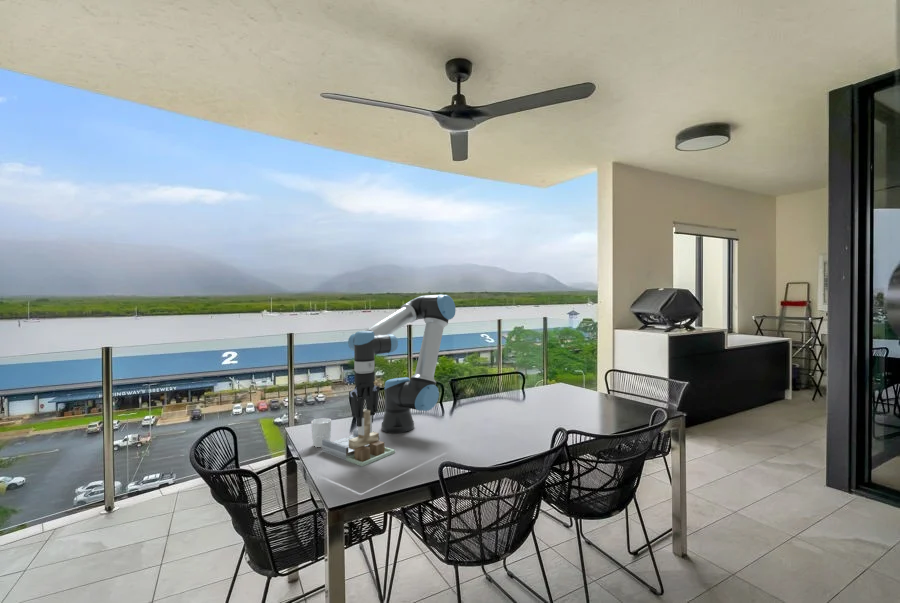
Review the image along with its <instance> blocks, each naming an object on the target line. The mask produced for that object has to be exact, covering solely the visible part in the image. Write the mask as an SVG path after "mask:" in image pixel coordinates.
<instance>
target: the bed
mask: <svg viewBox="0 0 900 603" xmlns="http://www.w3.org/2000/svg"><path fill="white" fill-rule="evenodd" d="M352 432H353V434H351V435H348V436H345V437H342V438H340V439H336V440H334V441H332V440H330V441H328V440H325V439H324V440H322V447H321V448H322V452H323V453H326V454H328V455H330V456H333V457H336V458H339V459H340V460H344V461H346V458H347V457H349V456H352V455H354V454H355V453H354V450H353V449H350V448H349V440H350V439H353V438H356V437H358V429H353V430H352ZM365 447H369V448H370V444H368V445H366V446H365Z"/></svg>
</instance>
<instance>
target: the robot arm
mask: <svg viewBox="0 0 900 603" xmlns="http://www.w3.org/2000/svg"><path fill="white" fill-rule="evenodd" d="M456 311H457V310H456V304H455V300H454V299H453V298H452V297H451V296H450V295H448V294H441V293H440V294H427V295H420V296H417V297H415V298H413V299H410V300H409V301H407V302H406V303H404V304H402V305H401V306H400V309H398V310H396V311H395V312H393V313H392V314H390V315H389V316H387V317H385V318H383V319H382V320H380V321H378V322H377V323H375V324H374V325H371V326H370V327H368V328H367V329H366V330H361V331H360V330H359V331H356V332H355V333H352V334H351V335H350V336H349V338H348V339H347V344H348V348H349V349H350V350H351V351H354V352H353V353H354V366H353V367H354V369H353V371H354V383H355V385H354V389H353V390H350V391H348V394H349V395H348V396H349V397H350V398H349V399H350V408H351V416H352V417H354V418H356V426H357V430H358V434H359V435H364V418H363V417H362V416H363V409H364V404H365V406H366V409H367V410H370V433H372V432H373V423H374V416H375V415H376V413H377V412H378V409H379V408H378V407H379V393H380V390H381V389H380V388H381V387H380V386H378V385H375V383H374V382H375V381H376V380H375V378H376V377H375V376H376V375H375V372H374V371H375V360H376V359H375V355H382V354H383V355H384V354H390V353H394V352H395V351H396V350H397V349H398V347H399V341H398V337H397V336H396V335H394V334H393V333H395V332H397V331H398V330H399V329H401V328H402V327H403V326H405V325H407V324H409V323H415V322H416V321H417V320H423V321H424V323H425V327H424V331H423V336H422V341H421V345H420V350H419V354H418V360H417V364H416V367H415V372H414V374H413V375H411V377H410V378H409V377H395V378H391V379H388V380H386V381H385V382H384V389H383V390H384V415H383V418H382V419H383V420H382V422H381V425H380V426H381V427H380V428H381V431H382V432H385V433H389V434H390V433H391V434H402V433H406V432H410V431H412V430H413V429H414V428H415V421H414V419H413V416H412V413H411V410H414V411H415V410H416V411H420V412H422V411H424V412H427V411H431V410H432V409H433V408H435V406H436V405H437V404H438V400H439V396H440V392H439V388H438V386H436V384H437V381H436V380H435V378H434V377H435V372H436V369H437V368H436V367H437V362H438V358H439V354H440V348H441V343H442V339H443V334H444V330H445V327H447V326H448V324H449V321H450V320H452V319H453V318H454V317H455V315H456ZM401 432H402V433H401Z"/></svg>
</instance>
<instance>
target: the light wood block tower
mask: <svg viewBox="0 0 900 603" xmlns="http://www.w3.org/2000/svg"><path fill="white" fill-rule="evenodd" d="M362 417H363V418H364V435H359V434H358V437H356V438H353V439H350V440H349V448H350V449H353V450H354V449H355V448H358V447H361V446H366V445H368V444H370V443H372V442H375V441H377V440H378V441H380V435H379V434H380V433H379V432H376V431H373V430H372V433H370V410H367V408H363V416H362Z"/></svg>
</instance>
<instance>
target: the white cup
mask: <svg viewBox="0 0 900 603" xmlns="http://www.w3.org/2000/svg"><path fill="white" fill-rule="evenodd" d="M310 422H311V435H312V436H311V438H312V446H313V447H314V446H315V447H314V448H317V447H321V448H322V440H324V439H325V440H328V441H331V437H332V436H331V435H332V419H331V418H329V417H321V418H316V419H315V418H314V419H312V420H311V421H310Z"/></svg>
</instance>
